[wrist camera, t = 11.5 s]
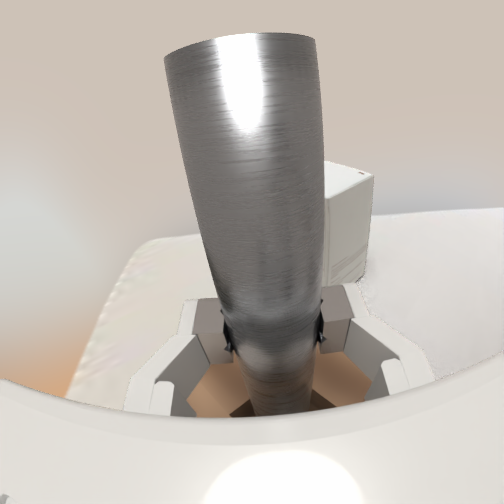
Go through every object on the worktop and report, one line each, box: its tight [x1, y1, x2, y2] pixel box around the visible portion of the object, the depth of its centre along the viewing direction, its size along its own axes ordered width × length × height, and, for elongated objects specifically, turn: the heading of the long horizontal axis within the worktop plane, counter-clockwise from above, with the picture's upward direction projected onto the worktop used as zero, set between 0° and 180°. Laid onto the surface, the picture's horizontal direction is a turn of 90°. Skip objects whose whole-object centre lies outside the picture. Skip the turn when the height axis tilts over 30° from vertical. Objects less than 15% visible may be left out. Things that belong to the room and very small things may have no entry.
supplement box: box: [322, 160, 374, 287], centre depth 28 cm, size 7×7×13 cm
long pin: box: [164, 33, 325, 417], centre depth 9 cm, size 3×3×18 cm
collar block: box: [186, 341, 372, 418], centre depth 16 cm, size 14×14×5 cm
